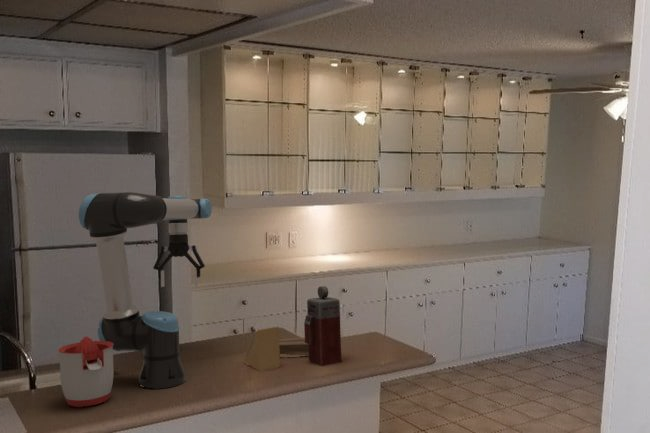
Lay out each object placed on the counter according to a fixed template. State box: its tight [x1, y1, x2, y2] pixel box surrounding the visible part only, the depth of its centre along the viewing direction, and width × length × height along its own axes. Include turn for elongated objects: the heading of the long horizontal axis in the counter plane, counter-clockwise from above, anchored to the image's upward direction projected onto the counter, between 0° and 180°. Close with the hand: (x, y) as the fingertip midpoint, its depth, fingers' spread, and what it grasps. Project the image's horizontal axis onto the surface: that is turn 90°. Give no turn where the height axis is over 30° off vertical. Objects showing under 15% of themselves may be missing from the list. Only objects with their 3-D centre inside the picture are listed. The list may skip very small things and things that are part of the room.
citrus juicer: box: [57, 336, 114, 408], centre depth 180 cm, size 16×17×20 cm
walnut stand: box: [279, 337, 309, 356], centre depth 233 cm, size 12×19×5 cm, turn 90°
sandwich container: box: [243, 326, 281, 372], centre depth 218 cm, size 9×15×15 cm, turn 32°
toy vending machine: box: [303, 285, 342, 367], centre depth 219 cm, size 9×11×28 cm
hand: (179, 286), depth 241 cm, fingers open, 13 cm apart
